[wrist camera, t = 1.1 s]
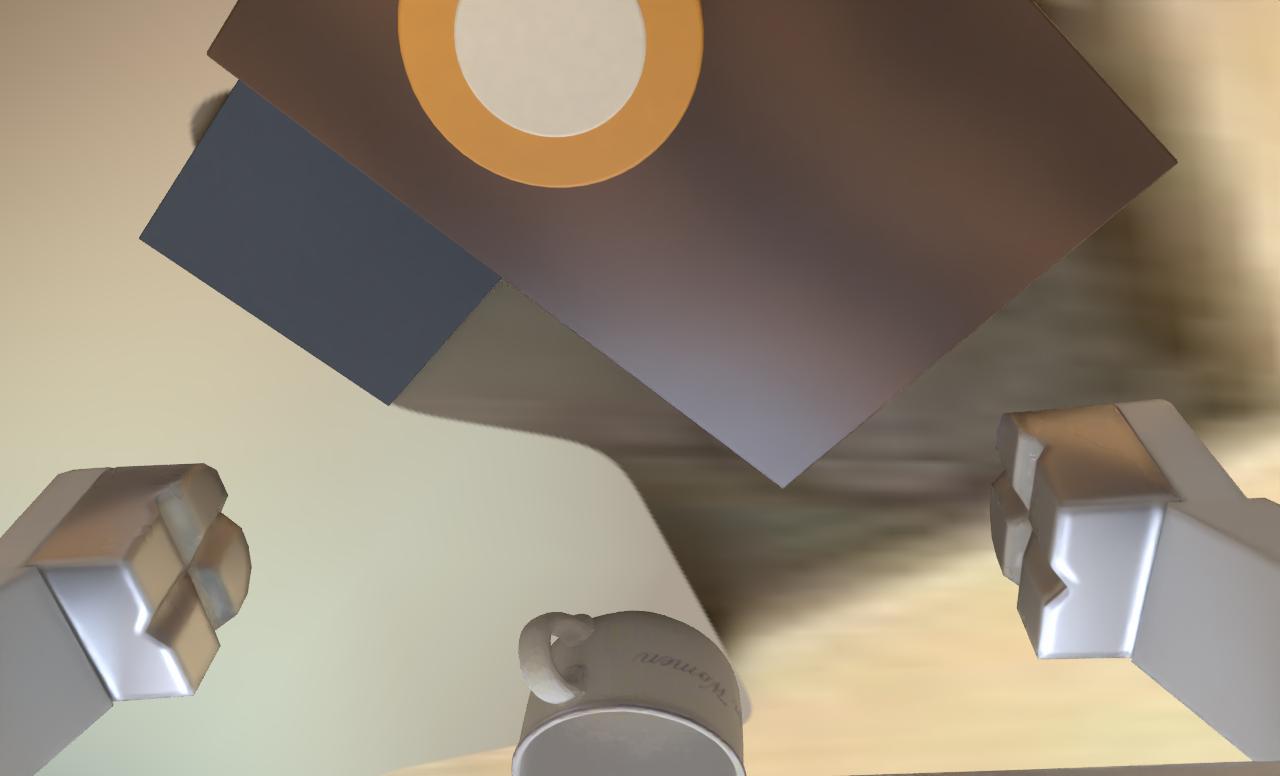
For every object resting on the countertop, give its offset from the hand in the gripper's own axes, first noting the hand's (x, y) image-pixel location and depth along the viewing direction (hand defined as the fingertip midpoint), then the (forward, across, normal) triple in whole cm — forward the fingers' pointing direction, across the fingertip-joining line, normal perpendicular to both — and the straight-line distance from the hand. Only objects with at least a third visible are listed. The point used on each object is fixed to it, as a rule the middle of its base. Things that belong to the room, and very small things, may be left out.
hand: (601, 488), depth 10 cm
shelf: (+28, -1, +1) cm, 28 cm away
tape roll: (+16, +2, -2) cm, 16 cm away
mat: (+28, +13, +8) cm, 32 cm away
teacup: (+28, +5, +31) cm, 42 cm away
